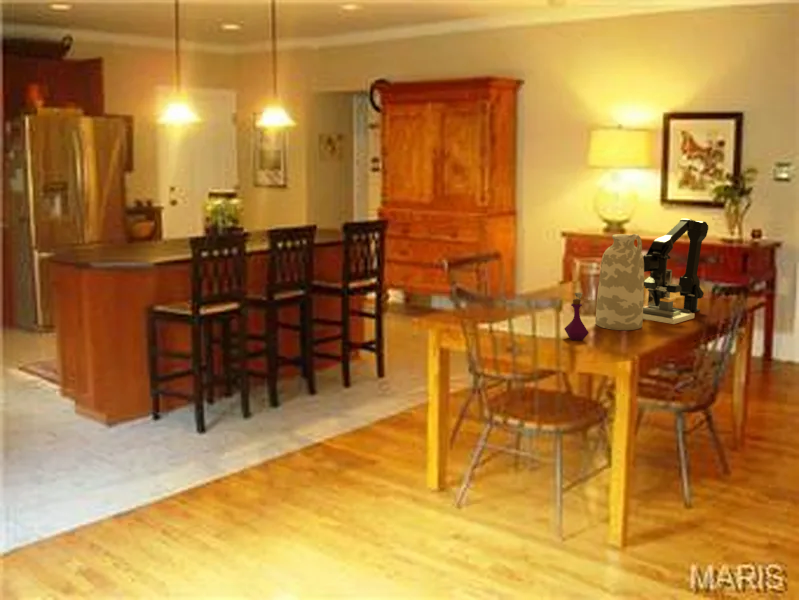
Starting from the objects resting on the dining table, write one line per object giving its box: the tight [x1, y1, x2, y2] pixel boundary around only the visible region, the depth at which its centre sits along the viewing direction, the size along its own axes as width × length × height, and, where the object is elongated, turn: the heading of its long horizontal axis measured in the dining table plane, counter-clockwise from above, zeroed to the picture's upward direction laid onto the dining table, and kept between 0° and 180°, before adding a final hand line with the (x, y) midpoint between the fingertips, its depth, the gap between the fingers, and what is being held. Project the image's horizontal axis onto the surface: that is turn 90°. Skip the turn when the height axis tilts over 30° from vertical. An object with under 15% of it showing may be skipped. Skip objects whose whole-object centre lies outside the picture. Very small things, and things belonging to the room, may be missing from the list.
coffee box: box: [647, 268, 673, 305], centre depth 417 cm, size 9×6×16 cm
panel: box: [643, 304, 696, 325], centre depth 390 cm, size 18×22×4 cm
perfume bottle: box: [563, 292, 589, 341], centre depth 345 cm, size 8×8×18 cm
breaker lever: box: [659, 297, 674, 312], centre depth 387 cm, size 4×4×6 cm
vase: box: [595, 233, 645, 331], centre depth 367 cm, size 20×19×38 cm
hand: (656, 306), depth 390 cm, fingers closed
